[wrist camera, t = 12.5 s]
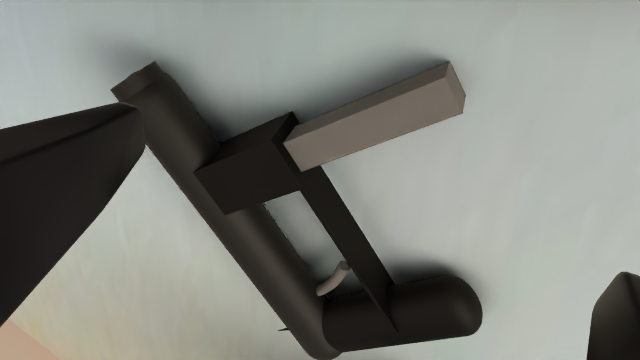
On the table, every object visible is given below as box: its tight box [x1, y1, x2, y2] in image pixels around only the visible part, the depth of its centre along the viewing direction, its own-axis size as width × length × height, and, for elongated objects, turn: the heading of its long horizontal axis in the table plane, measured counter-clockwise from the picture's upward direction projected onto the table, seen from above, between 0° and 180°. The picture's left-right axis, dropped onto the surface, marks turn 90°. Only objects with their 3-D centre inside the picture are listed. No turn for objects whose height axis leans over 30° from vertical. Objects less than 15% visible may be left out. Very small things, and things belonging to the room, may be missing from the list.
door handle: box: [111, 61, 482, 360], centre depth 26 cm, size 3×20×16 cm
